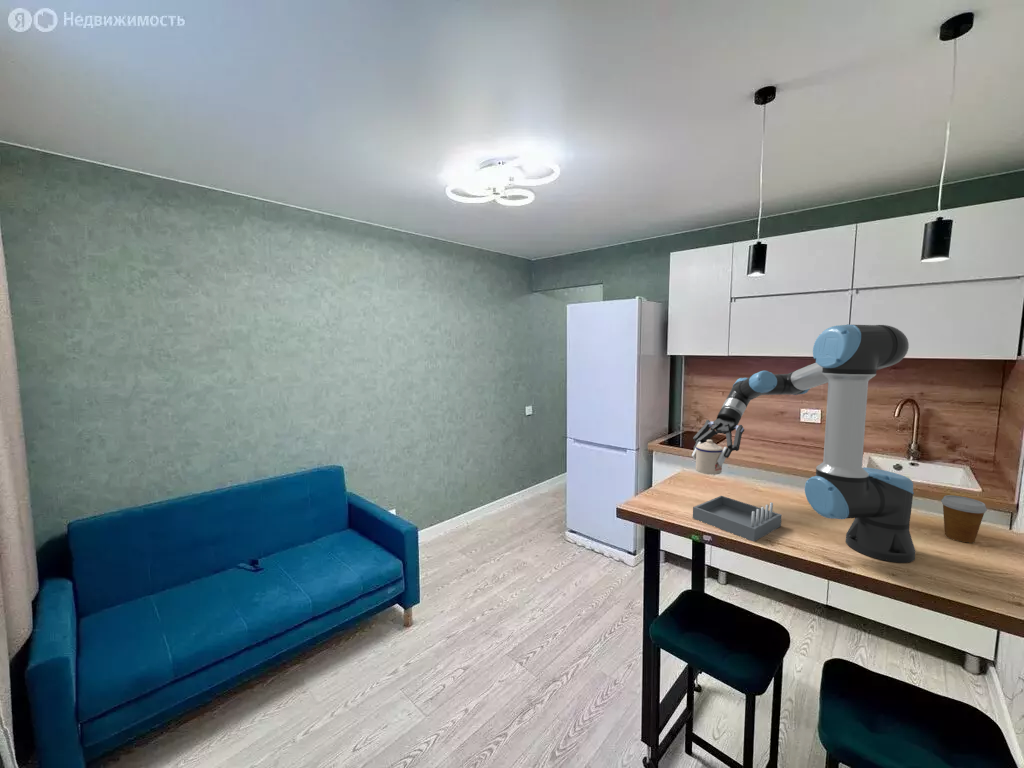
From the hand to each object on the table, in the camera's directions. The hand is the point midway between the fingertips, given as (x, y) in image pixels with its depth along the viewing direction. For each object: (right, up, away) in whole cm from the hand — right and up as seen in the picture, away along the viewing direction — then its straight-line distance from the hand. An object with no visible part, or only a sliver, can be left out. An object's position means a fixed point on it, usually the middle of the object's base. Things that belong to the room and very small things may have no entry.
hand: (706, 460), depth 150 cm
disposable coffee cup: (+67, -20, -23) cm, 74 cm away
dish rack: (+5, -19, -11) cm, 22 cm away
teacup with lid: (+2, -4, +3) cm, 6 cm away
